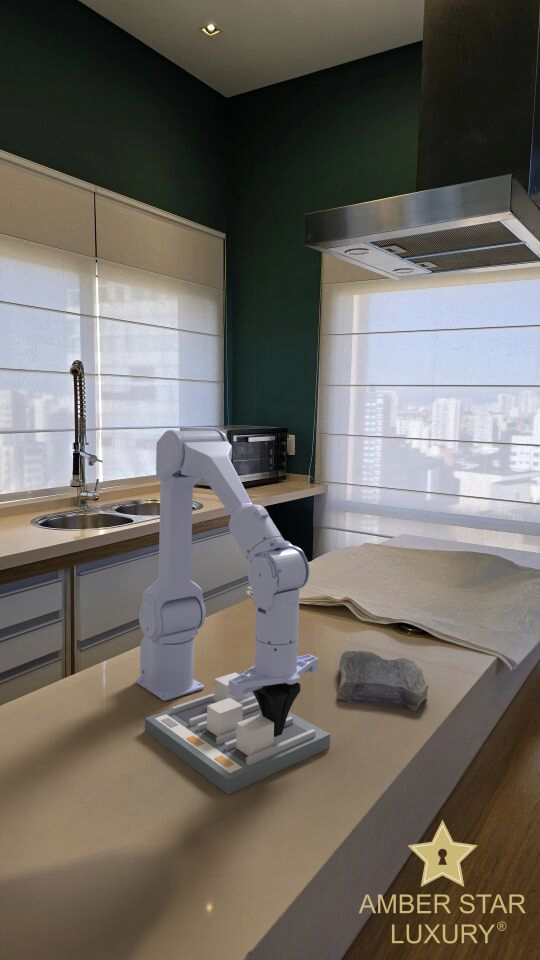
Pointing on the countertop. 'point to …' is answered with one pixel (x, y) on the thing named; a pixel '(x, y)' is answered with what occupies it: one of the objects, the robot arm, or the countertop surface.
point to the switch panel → (232, 743)
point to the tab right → (254, 735)
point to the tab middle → (224, 716)
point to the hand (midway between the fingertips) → (273, 732)
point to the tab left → (225, 688)
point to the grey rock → (381, 680)
